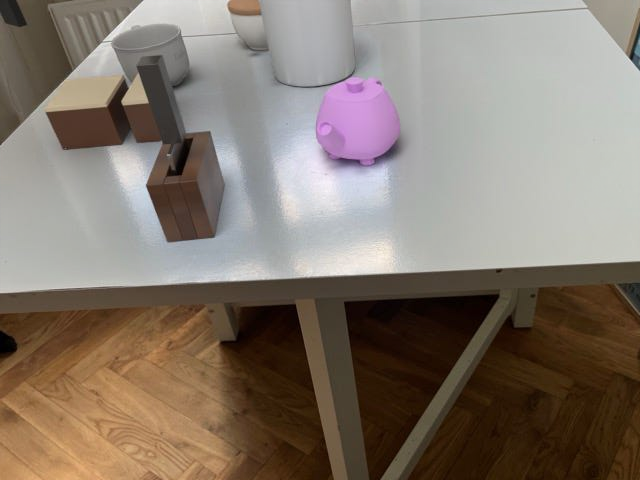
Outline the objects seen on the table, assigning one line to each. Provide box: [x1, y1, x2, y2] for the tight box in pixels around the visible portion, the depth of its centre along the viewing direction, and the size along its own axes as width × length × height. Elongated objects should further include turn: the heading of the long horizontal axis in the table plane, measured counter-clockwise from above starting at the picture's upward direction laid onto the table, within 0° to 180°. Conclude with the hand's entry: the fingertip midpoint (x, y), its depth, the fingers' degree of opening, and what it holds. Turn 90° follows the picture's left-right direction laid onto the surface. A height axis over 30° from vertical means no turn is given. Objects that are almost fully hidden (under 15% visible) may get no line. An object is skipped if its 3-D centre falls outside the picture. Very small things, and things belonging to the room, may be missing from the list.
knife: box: [136, 55, 190, 176], centre depth 58 cm, size 7×2×17 cm, turn 6°
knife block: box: [145, 130, 226, 243], centre depth 61 cm, size 11×5×7 cm, turn 6°
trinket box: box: [226, 0, 269, 51], centre depth 102 cm, size 11×11×9 cm
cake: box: [43, 74, 131, 151], centre depth 78 cm, size 8×10×6 cm
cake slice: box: [121, 73, 162, 144], centre depth 79 cm, size 4×10×6 cm, turn 7°
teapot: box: [315, 76, 401, 166], centre depth 69 cm, size 10×15×9 cm
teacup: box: [110, 23, 190, 88], centre depth 91 cm, size 14×11×8 cm
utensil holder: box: [259, 0, 356, 88], centre depth 88 cm, size 15×15×18 cm
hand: (81, 5), depth 56 cm, fingers open, 13 cm apart
